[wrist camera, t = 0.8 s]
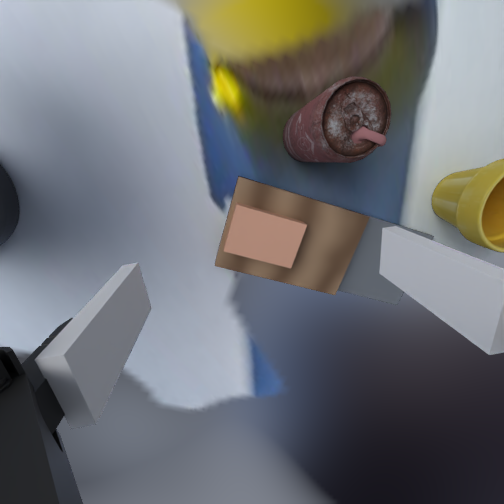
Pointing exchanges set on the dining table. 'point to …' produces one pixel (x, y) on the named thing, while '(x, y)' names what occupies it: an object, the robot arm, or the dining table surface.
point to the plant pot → (474, 204)
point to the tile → (264, 235)
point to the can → (340, 123)
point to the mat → (372, 266)
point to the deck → (312, 244)
